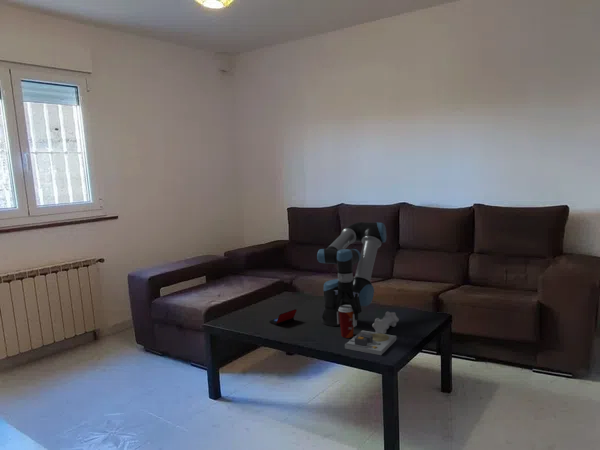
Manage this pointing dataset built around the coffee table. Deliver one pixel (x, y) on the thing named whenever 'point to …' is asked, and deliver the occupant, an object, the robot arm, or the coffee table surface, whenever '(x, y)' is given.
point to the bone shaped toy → (385, 322)
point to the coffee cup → (346, 321)
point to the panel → (372, 342)
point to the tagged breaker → (361, 341)
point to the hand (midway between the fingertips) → (346, 324)
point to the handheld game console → (284, 318)
